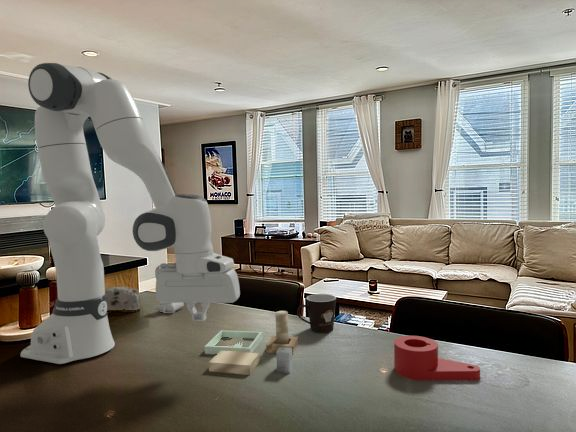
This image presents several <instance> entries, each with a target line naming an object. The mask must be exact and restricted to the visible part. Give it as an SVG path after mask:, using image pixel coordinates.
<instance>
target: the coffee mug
mask: <svg viewBox="0 0 576 432" xmlns="http://www.w3.org/2000/svg"><path fill="white" fill-rule="evenodd" d="M336 303H337V296H335V295H333V294H327V293H316V294H315V293H314V294H310V295H308V296H306V304H301V305H299V306H298V307H297V310H296V315H297V317H298V319H300V320H301V321H303V322H304V323H306V324H309V325H310V327H309V328H310V331H311V332H313V333H317V334H327V333H331V332H333V331H334V327H335V326H334V324H335V316H336V315H335V313H336ZM303 308H306V309H307V312H308V319H309V321H308V320H307V319H305V318H303V317H302V316H301V315H300V310H301V309H303Z"/></svg>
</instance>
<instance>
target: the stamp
mask: <svg viewBox="0 0 576 432" xmlns="http://www.w3.org/2000/svg"><path fill="white" fill-rule="evenodd" d="M184 306H185V303H160V304H158V305H157V307H156V310H157V311H158V312H159V311H163V314H166V313H165V312H175V311H176V310H178V309H180V308H182V307H183V308H184ZM183 308H182V309H183ZM175 313H176V312H175Z"/></svg>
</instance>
